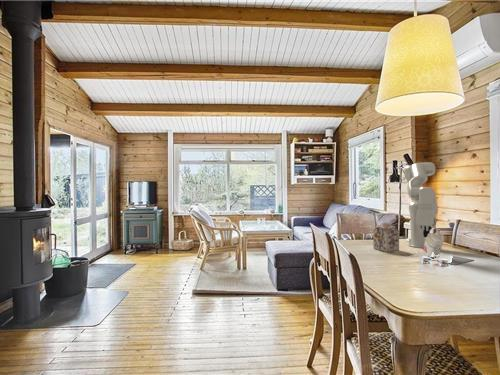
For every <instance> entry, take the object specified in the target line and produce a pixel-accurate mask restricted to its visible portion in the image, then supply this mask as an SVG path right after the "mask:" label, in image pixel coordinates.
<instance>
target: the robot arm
mask: <svg viewBox="0 0 500 375" xmlns="http://www.w3.org/2000/svg"><path fill="white" fill-rule="evenodd" d="M403 173H404V177H405V179H406V181H407V186H406V187H407V188H406V189H407V195H408V197H409V198H410V200H411V202H410V203H409V205H408V211H409V216H410V238H406V240H405V241H406V242H408V245H407V246H408V247H412V248H417V249H420V248H421V249H423V247H424V244H425V241H426V238H427V235H428V233H431V230H432V229H436V228H437V227H436V225H437V217H436V216H437V214H438V210H439V209H438V208H439V206H438V199H437V195H436V191H435V189H433V187H430V186H423V184H426V182H428V177H431V176H433V175H434V174H435V173H436V166H435V164H434V163H433V162H431V161H429V162H428V161H426V162H425V161H424V162H415V163H413V164H411V165H410V164H409V165H407V166H405V168H404V172H403Z"/></svg>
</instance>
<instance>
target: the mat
mask: <svg viewBox="0 0 500 375" xmlns="http://www.w3.org/2000/svg"><path fill="white" fill-rule="evenodd" d="M452 256H453V258H452V262H451V263H450V264H449V265H451V266H456V265H460V264H465V263H469V262H474V261H475V259H471V258H466V257H462V256H455V255H452Z"/></svg>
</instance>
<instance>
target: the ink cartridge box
mask: <svg viewBox="0 0 500 375" xmlns="http://www.w3.org/2000/svg"><path fill="white" fill-rule="evenodd" d="M445 238H446V237H445V235H444V234H442V233H441V231H439V230H438V229H436V231H435V233H434V232H430V233H428V235H427V237H426V241H425V244H424V247H423V248H422V250H423V251H424V252H425V253H426V255H428V257H430V256H431V254H432V252H434V254H435V255H438V254H439V255H440V253H441V250H442V246H443V244H444V242H445Z"/></svg>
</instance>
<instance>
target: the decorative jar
mask: <svg viewBox="0 0 500 375" xmlns="http://www.w3.org/2000/svg"><path fill="white" fill-rule="evenodd" d="M390 224H391V223H389V222H382V223H381V225H376V226H375V227H374V228H373V232H372V234H373V238H372V239H373V240H372V241H373V242H372V243H373V249H374V250H376V251H381V252H385V253H391V252H397V251H400V230H399V229H398V228H397V227H396V226H394V225H390Z"/></svg>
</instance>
